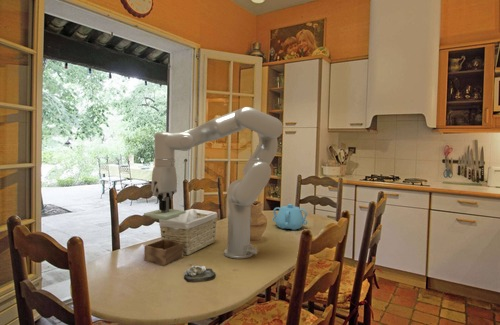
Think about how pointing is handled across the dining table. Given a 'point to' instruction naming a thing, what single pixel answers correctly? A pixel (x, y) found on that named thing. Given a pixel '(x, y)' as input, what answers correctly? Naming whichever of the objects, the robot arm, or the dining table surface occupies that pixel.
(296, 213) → the decorative pot
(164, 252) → the box
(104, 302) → the dining table surface
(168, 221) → the storage basket
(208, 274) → the grey oval ornament
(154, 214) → the lid
